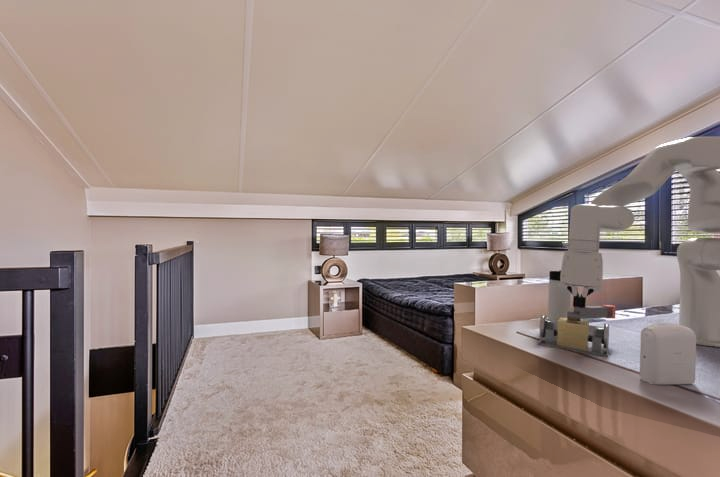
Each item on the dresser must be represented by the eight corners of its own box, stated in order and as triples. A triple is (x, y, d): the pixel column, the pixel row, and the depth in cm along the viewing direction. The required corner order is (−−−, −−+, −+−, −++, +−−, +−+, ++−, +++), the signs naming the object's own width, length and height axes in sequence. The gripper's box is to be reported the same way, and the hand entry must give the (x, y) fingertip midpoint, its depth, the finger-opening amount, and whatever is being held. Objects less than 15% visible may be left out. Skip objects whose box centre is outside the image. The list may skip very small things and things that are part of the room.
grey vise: (607, 347, 96) (608, 321, 96) (608, 357, 88) (609, 328, 88) (543, 336, 106) (544, 312, 106) (538, 344, 97) (539, 318, 97)
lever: (574, 321, 95) (574, 308, 95) (564, 318, 98) (564, 305, 98) (617, 319, 99) (617, 306, 99) (606, 317, 102) (606, 304, 102)
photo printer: (654, 386, 71) (656, 325, 71) (635, 377, 75) (637, 320, 75) (699, 385, 72) (701, 326, 72) (678, 377, 76) (680, 321, 76)
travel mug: (550, 332, 111) (552, 270, 111) (545, 327, 117) (547, 268, 117) (572, 334, 109) (574, 271, 109) (566, 329, 115) (568, 269, 115)
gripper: (552, 245, 102) (547, 307, 102) (614, 248, 93) (610, 316, 93) (556, 245, 108) (551, 304, 108) (615, 249, 99) (610, 313, 99)
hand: (578, 309), depth 101 cm, fingers closed
